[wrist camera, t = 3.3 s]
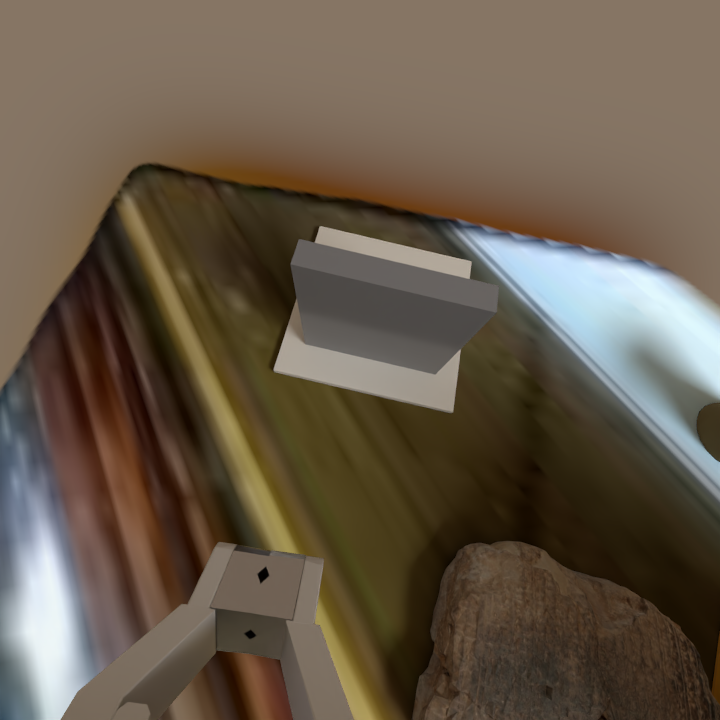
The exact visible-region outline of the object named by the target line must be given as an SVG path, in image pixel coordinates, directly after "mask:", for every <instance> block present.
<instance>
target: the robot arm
mask: <svg viewBox="0 0 720 720" xmlns="http://www.w3.org/2000/svg"><path fill="white" fill-rule="evenodd" d="M305 558H306V559H305ZM323 563H324V558H318V557H311V556H306V555H301V554H294V553H287V552H280V551H270V550H264V549H258V548H252V547H246V546H240V545H236V544H229V543H223V542H218V544H217V545H216V546H215V548H214V550H213V552H212V554H211V556H210V558H209V560H208V562H207V564H206V567H205V569H204V571H203V573H202V575H201V577H200V579H199V581H198V583H197V586H196V588H195V590H194V592H193V594H192V596H191V598H190V600H189V602H188V605H186V604H181V605H180V606H179V607H178V608H176V609H175V610H174V611H173V612H172V613H171V614H169V615H168V616H167V617H166V618H165V619H163V620H162V621H161V622H160V623H159V624H157V625H156V626H155V627H154V628H153V629H152V630H150V631H149V632H148V633H147V634H146V635H144V636H143V637H142V638H141V639H140V640H139V641H137V642H136V643H135V644H134V645H133V646H131V647H130V648H129V649H128V650H127V651H125V652H124V653H123V654H122V655H121V656H120V657H118V658H117V659H116V660H115V661H114V662H112V663H111V664H110V665H109V666H108V667H107V668H105V669H104V670H103V671H102V672H101V673H99V674H98V675H97V676H96V677H95V678H93V679H92V680H91V681H90V682H89V683H88V684H86V685H85V686H84V687H83V688H82V689H80V690H79V691H78V692H77V694H76V696H75V697H74V699H73V700H72V702H71V704H70V705H69V707H68V708H67V710H66V712H65V713H64V715H63V717H62V718H61V720H158V718H159V717H160V716H161V715H162V714H163V713H164V712H165V710H166V709H167V708H168V707H169V706H170V705H171V703H172V702H173V701H174V700H175V699H176V698H177V697H178V695H179V694H180V693H181V692H182V691H183V690H184V689H185V687H186V686H187V685H188V684H189V683H190V682H191V680H192V679H193V678H194V677H195V676H196V675H197V674H198V672H199V671H200V670H201V669H202V668H203V667H204V666H205V664H206V663H207V662H208V661H209V660H210V659H211V657H212V656H213V655H214V654H215V653H216V650H221V651H229V652H238V653H247V654H253V655H258V656H264V657H269V658H275V659H280V660H281V666H282V670H283V675H284V679H285V684H286V688H287V693H288V697H289V702H290V706H291V711H292V715H293V720H354V719H353V716H352V713H351V711H350V708H349V705H348V702H347V699H346V697H345V694H344V691H343V688H342V686H341V683H340V680H339V677H338V674H337V672H336V669H335V666H334V663H333V661H332V658H331V655H330V652H329V650H328V647H327V644H326V641H325V638H324V636H323V633H322V630H321V627H320V625H316V624H314V623H315V617H316V610H317V603H318V597H319V590H320V583H321V577H322V570H323Z"/></svg>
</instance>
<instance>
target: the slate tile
mask: <svg viewBox="0 0 720 720" xmlns="http://www.w3.org/2000/svg"><path fill="white" fill-rule="evenodd" d="M291 270H292V275H293V281H294V286H295V292H296V297H297V302H298V308H299V313H300V319H301V324H302V330H303V335H304V341H305V344H306V345H311V346H315V347H319V348H324V349H328V350H332V351H336V352H341V353H345V354H349V355H353V356H358V357H362V358H366V359H371V360H375V361H379V362H383V363H388V364H392V365H396V366H401V367H405V368H409V369H413V370H418V371H422V372H426V373H431V374H435V375H436V374H437V372H438V371H439V370H440V369H441V368H442V367H443V366H444V365H445V364H446V363H447V362H448V361H449V360H450V359H451V358H452V357H453V356H454V355H455V354H456V353H457V352H458V351H459V350H460V349H461V348H462V347H463V346H464V345H465V344H466V343H467V342H468V341H469V340H470V339H471V338H472V337H473V336H474V335H475V334H476V333H477V332H478V331H479V330H480V329H481V328H482V327H483V326H484V325H485V324H486V323H487V322H488V321H489V320H490V319H491V318H492V317H493V316H494V315H495V314H496V313H497V302H498V290H499V286H497V285H493V284H488V283H484V282H480V281H476V280H471V279H467V278H463V277H459V276H454V275H450V274H446V273H442V272H437V271H433V270H429V269H425V268H420V267H416V266H412V265H407V264H403V263H399V262H395V261H390V260H386V259H382V258H378V257H373V256H369V255H365V254H361V253H356V252H352V251H348V250H344V249H339V248H335V247H331V246H327V245H322V244H318V243H314V242H310V241H305V240H301V239H299V241H298V244H297V247H296V250H295V253H294V256H293V258H292V261H291Z"/></svg>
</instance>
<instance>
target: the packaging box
mask: <svg viewBox="0 0 720 720" xmlns="http://www.w3.org/2000/svg"><path fill="white" fill-rule="evenodd" d="M712 695H713V696H714V698H715V699H716V700H717V702H718V703H719V705H720V633H719V641H718V648H717V656H716V663H715V671H714V678H713V686H712Z"/></svg>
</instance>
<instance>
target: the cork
mask: <svg viewBox="0 0 720 720" xmlns="http://www.w3.org/2000/svg"><path fill="white" fill-rule="evenodd" d="M697 431H698V434H699V437H700V440H701V442H702V443H703V445H704V447H705V448H706V450H707V451H708V452H709V453H710V454H711V455H712V456H713V457H714V458H715V459H716V460H718V461H719V462H720V403H712V404H710V405H707V406H705V407H704V408H703V409H702V410H701V411H700V412H699V415H698V418H697Z"/></svg>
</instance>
